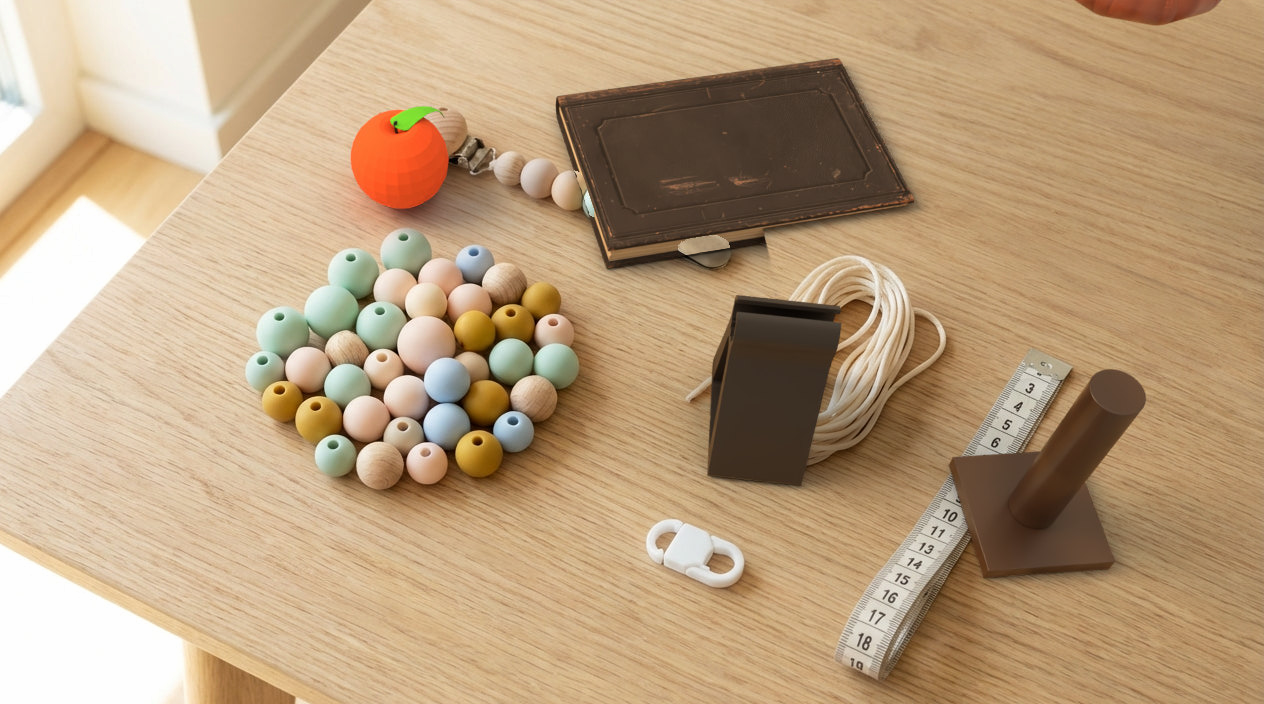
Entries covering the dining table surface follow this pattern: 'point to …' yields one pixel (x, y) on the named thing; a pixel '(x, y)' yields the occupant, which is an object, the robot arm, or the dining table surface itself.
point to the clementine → (400, 157)
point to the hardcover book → (725, 157)
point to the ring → (1149, 9)
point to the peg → (1048, 488)
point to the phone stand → (769, 388)
